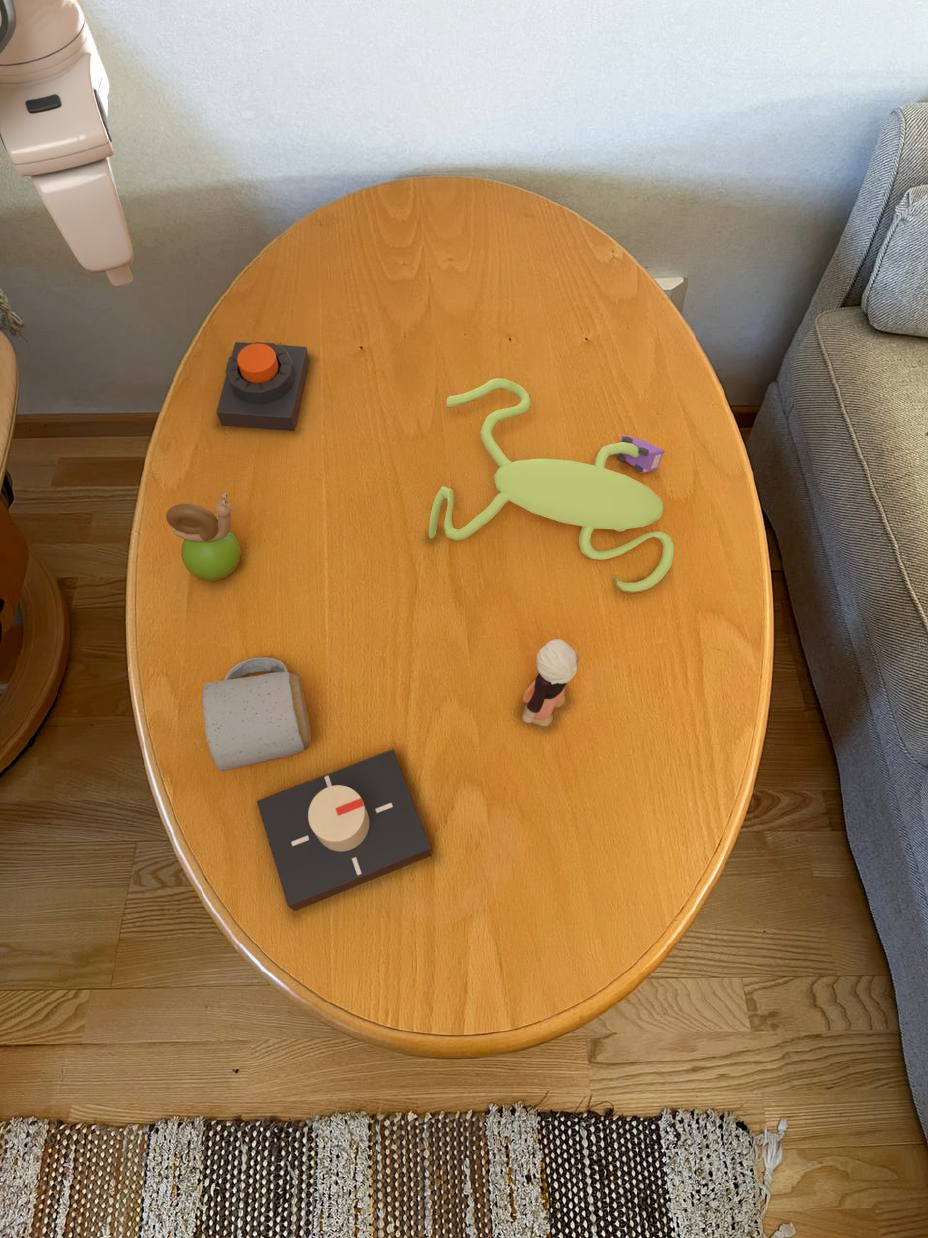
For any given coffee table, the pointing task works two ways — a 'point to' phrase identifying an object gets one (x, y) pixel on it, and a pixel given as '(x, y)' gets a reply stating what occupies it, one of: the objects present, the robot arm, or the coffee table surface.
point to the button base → (265, 391)
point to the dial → (339, 818)
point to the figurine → (568, 489)
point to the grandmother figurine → (549, 682)
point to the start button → (257, 363)
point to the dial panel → (327, 872)
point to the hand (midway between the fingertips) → (110, 240)
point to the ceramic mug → (255, 715)
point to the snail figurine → (206, 539)
